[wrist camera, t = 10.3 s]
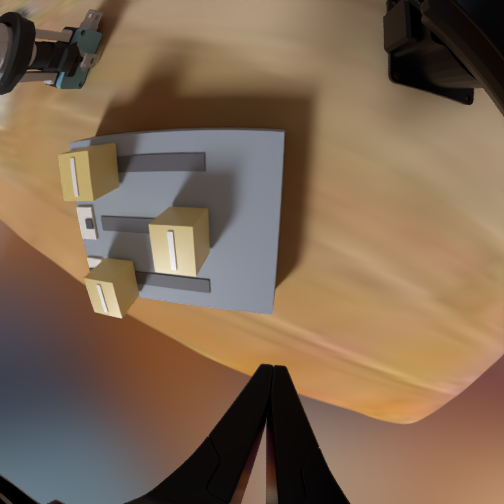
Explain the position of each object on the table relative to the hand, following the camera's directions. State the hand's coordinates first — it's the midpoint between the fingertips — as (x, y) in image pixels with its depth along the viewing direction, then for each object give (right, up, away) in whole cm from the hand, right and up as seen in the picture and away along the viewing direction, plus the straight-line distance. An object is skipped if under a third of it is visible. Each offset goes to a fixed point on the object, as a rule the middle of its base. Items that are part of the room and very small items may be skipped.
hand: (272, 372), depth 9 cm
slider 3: (-4, +5, +8) cm, 10 cm away
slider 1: (-10, +9, +7) cm, 15 cm away
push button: (-13, +19, +6) cm, 24 cm away
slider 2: (-10, +2, +10) cm, 15 cm away
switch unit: (-6, +7, +11) cm, 14 cm away
